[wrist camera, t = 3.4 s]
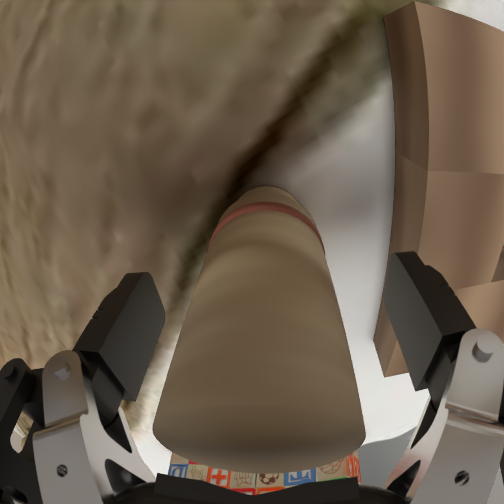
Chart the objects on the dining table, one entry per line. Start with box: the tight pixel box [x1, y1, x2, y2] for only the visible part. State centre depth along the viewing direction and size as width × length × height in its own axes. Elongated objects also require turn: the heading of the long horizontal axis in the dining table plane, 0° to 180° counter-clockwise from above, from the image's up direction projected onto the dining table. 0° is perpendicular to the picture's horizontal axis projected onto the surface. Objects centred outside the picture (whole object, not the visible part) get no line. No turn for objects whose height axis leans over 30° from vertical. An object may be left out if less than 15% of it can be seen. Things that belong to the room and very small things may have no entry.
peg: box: [152, 186, 366, 474], centre depth 9 cm, size 4×4×10 cm
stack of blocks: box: [168, 450, 361, 495], centre depth 22 cm, size 21×6×12 cm, turn 118°
